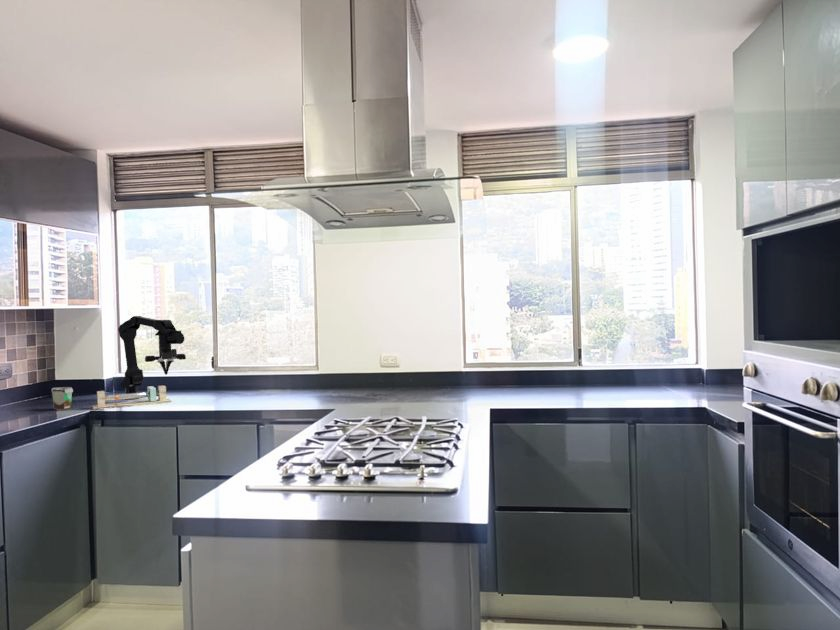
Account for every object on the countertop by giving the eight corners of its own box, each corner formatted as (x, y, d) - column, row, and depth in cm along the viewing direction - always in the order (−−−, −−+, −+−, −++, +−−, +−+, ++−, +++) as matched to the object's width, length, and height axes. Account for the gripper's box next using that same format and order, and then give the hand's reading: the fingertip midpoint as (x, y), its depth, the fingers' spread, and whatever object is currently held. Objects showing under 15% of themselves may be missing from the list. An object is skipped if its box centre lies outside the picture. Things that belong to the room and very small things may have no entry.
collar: (147, 398, 297) (147, 386, 297) (153, 398, 298) (152, 386, 298) (150, 401, 287) (150, 388, 287) (156, 400, 289) (155, 388, 288)
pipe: (97, 401, 279) (97, 395, 279) (165, 395, 295) (164, 389, 295) (97, 402, 277) (97, 396, 277) (165, 395, 293) (165, 390, 293)
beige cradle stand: (92, 407, 281) (91, 391, 281) (168, 399, 299) (167, 384, 299) (93, 410, 273) (92, 393, 273) (171, 402, 291) (170, 386, 291)
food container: (79, 408, 280) (78, 387, 280) (66, 410, 275) (65, 389, 275) (65, 406, 286) (64, 386, 286) (52, 408, 281) (51, 388, 281)
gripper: (147, 345, 288) (148, 377, 288) (187, 343, 298) (188, 374, 298) (144, 345, 297) (145, 375, 297) (183, 342, 307) (184, 372, 307)
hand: (166, 374), depth 300 cm, fingers closed
